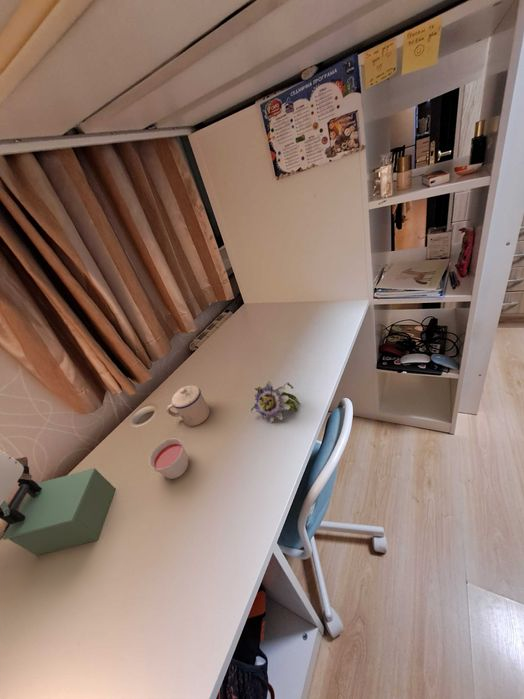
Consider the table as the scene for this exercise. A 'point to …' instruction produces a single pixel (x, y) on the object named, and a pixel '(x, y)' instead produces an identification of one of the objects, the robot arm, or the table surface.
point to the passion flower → (273, 401)
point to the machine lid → (49, 503)
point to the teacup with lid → (189, 405)
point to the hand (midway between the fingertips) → (27, 505)
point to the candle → (169, 458)
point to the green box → (82, 527)
